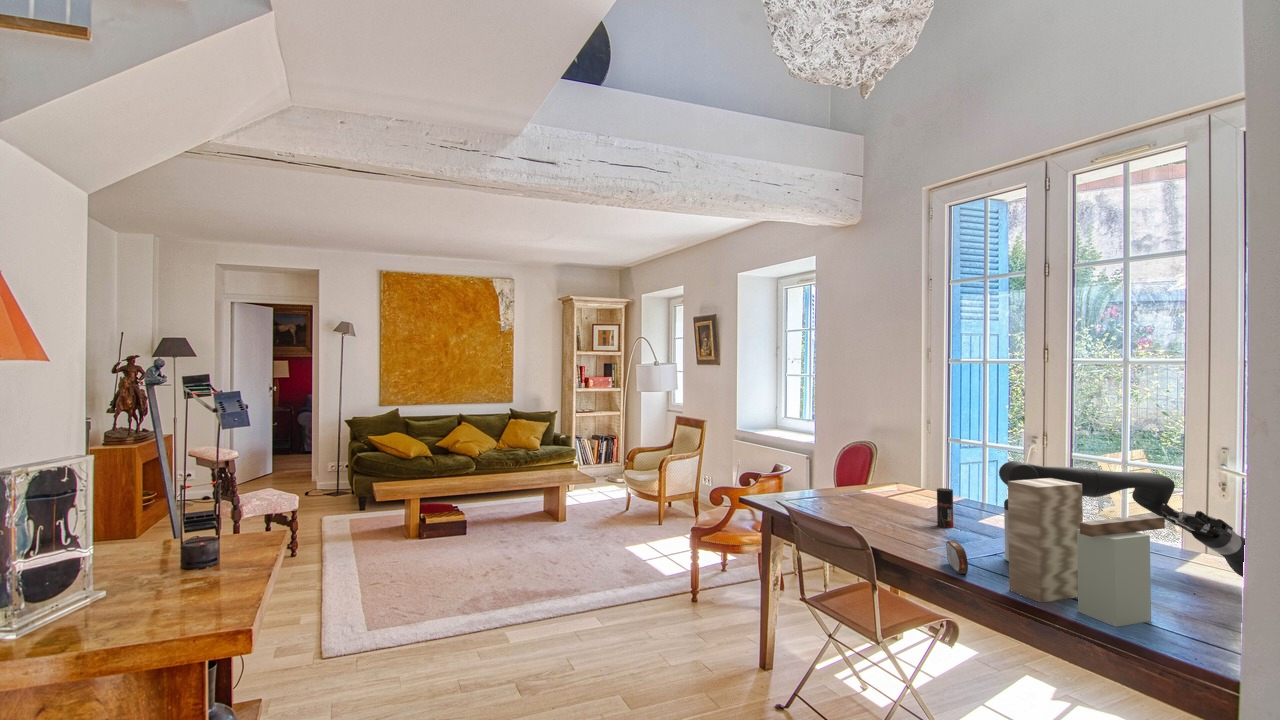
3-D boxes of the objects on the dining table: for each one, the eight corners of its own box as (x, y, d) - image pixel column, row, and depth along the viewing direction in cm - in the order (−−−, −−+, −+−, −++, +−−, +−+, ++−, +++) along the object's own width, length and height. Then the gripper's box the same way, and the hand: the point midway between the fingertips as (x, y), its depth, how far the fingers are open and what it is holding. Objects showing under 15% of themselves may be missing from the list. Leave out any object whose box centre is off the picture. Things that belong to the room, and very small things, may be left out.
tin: (969, 577, 193) (968, 550, 194) (958, 577, 194) (957, 550, 194) (954, 562, 208) (954, 537, 208) (944, 562, 209) (944, 537, 209)
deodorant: (947, 528, 251) (946, 491, 251) (934, 525, 256) (933, 489, 256) (956, 527, 253) (956, 490, 253) (943, 523, 259) (943, 487, 259)
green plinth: (1112, 606, 169) (1110, 525, 169) (1151, 621, 160) (1149, 535, 160) (1078, 611, 166) (1077, 529, 166) (1116, 626, 156) (1114, 539, 157)
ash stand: (1051, 584, 187) (1050, 477, 187) (1083, 596, 177) (1082, 483, 177) (1009, 590, 182) (1007, 481, 183) (1039, 602, 173) (1038, 487, 173)
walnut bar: (1152, 525, 169) (1152, 514, 169) (1164, 528, 166) (1164, 517, 166) (1079, 533, 162) (1079, 522, 162) (1091, 536, 159) (1091, 525, 159)
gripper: (1192, 517, 181) (1156, 493, 177) (1251, 530, 167) (1214, 503, 163) (1183, 541, 180) (1146, 516, 176) (1242, 555, 166) (1204, 529, 162)
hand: (1179, 510), depth 170 cm, fingers open, 8 cm apart
